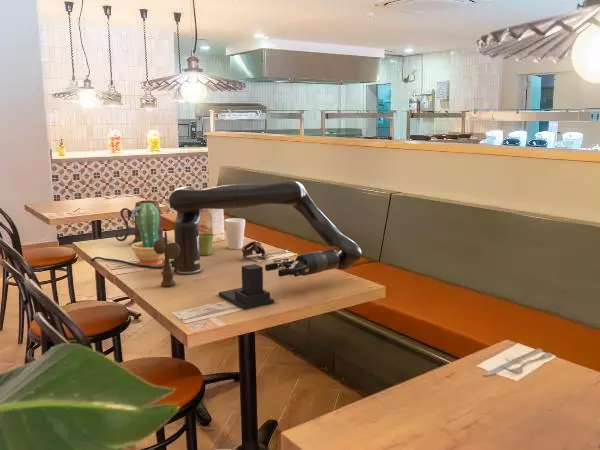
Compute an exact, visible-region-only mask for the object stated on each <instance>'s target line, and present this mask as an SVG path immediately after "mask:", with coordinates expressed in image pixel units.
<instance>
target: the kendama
mask: <svg viewBox="0 0 600 450" xmlns="http://www.w3.org/2000/svg"><path fill="white" fill-rule="evenodd" d="M164 238H165V240H164V239H160V240H157V241H156V242H155V244H154V251H155V252H156V253H157V254H163V253H164V254H165V256H164V261H163V265H164V268H162V269H163V270H162V271H161V276H162V280H161V282H160V285H161V287H166V288H168V287H172V286H175V285H176V281H175V279H174V274H175V273H174V270H173V269H172V266H171V264H170V262H171V260H173V259H174V258H176V257H178V255H179V253H180V247H179V245H178V244H177V243H175V241H172V242H169V241H168V232H167V231H164ZM168 242H169V243H168Z"/></svg>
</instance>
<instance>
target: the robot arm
mask: <svg viewBox="0 0 600 450" xmlns="http://www.w3.org/2000/svg"><path fill="white" fill-rule="evenodd" d="M314 202H315V201H313V200H312V198H311V197H310V195H309V193H308V192H307V190H306V189H305V187H304V185H303V184H302V183H300V182H299V181H296V180H290V179H289V180H284V181H279V182H278V181H277V182H273V183H263V184H262V183H261V184H260V183H231V184H226V185H225V184H224V185H219V186H215V187H210V188H204V189H196V188H194V187H193V186H191V185H190V186H189V185H187V186H182V187H179V188H175V189H174V190H173V191H172V192H171V193H170V194H169V197H168V205H169V206H170V208H171V209H173V210H174V211H176V216H175V217H176V218H175V220H174V222H173V229H174V242H175V243H177V244H178V245H179V247H180V253H179V255H178V257H176V258H174V259H170V265H171V268H173V272H174V274H175V273H176V274H179V275H194V274H197V273H200V272H201V271H202V268H201V255H200V246H199V221H200V209H223V210H236V209H239V210H240V209H249V208H254V207H257V206H262V205H284V206H285V205H286V206H291V207H292V208H294V209H295V210H296V211H298V213H300V214H301V216H302V217H303V218H304V219H305V220H306V221H307V223H308V225H309V226H310V228H311V229H312V231H314V233H315V234H316V236H318V238H319V239H320V240H321V242H323V244H324V245H325V246H326V247H328V248H329V249H327V250H320V251H311V252H304V253H300V254H298V255H297V256H296V258H295V259H290V258H288V257H287V258H282V259H281V258H280V259H275V260H273V262H271V263H266V264H264V271H266V272H269V271H275V270H276V271H277V270H278V271H277V272H278V273H277V274H278V277H280V278H281V277H285V276H290V277H292V276H293V277H300V276H302V277H303V276H309V275H315V274H318V273H322V272H326V271H330V270H341V271H342V270H348V269H350V268H352V267H353V266H354V265H355V264H356V263H357V262H359V260H360V259H361V258H362V255H363V254H362V250H361V247H360V246H359V245H358V244H357V243H356V242H355V241H353V240H352V239H350V238H349V237H347V236H346V235H344V234H343V233H341V231H340V230H339V229H338V228H337V227H336V225H335V224H333V222H332V221H331V220H329V218H328V217H327V216H326V215H325V214H324V213H323V212H322V211H321V209H320V208H319V207H318V206H317V205H316V204H315V203H314ZM334 248H338V249H339V250H340V251H336V250H335V249H334ZM95 260H101V261H110V262H117V263H122V264H127V265H130V266H135V267H140V268H147V269H164V264H163V265H161V266H156V265H154V266H147V265H141V264H140V263H139V264H138V263H134V262H129V261H126V260H121V259H114V258H106V257H101V256H94V257H93V258H92V259H91V261H92V262H94V261H95Z"/></svg>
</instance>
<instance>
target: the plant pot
mask: <svg viewBox="0 0 600 450" xmlns="http://www.w3.org/2000/svg"><path fill="white" fill-rule="evenodd" d="M213 236H214V234H212V233H199V246H200V256H209V255H211V254H212V250H213V242H212V240H213Z"/></svg>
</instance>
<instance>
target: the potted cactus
mask: <svg viewBox="0 0 600 450" xmlns="http://www.w3.org/2000/svg"><path fill="white" fill-rule="evenodd" d="M131 212H132V214H131V217H130V219H131V220H132V222H134V223H135V216H136V223H137V226H138V228H139V230H140V234H141V238H142V241H141V242H137V243H133V244H132V245H131V244H130V249H131V250H132V251H133V252H134V256H135V257H136V258H137V259H138V260H139V265H147V266H158V265H162V264H164V261H163V259H165V254H164V253H163V254H157V253H156V252H155V251H154V244H155V242H156V241H157V240H158V225H159V212H158V210H157V208H156V207H155V206H154V205H153V204H152V203H151V204H150V203H147V204H146V203H143V204H141V205H140V206H137V207H135V206H134V208H133V210H132V211H131ZM167 242H168V243H170V242H169V241H167Z"/></svg>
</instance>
